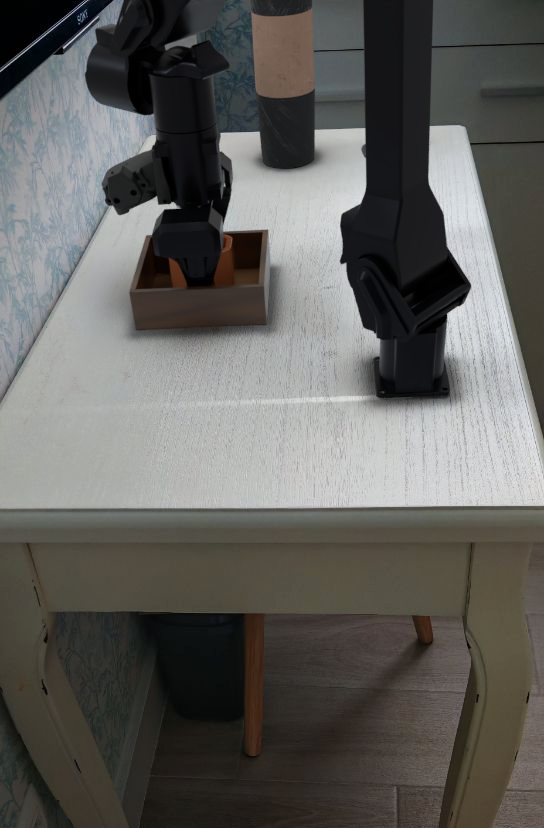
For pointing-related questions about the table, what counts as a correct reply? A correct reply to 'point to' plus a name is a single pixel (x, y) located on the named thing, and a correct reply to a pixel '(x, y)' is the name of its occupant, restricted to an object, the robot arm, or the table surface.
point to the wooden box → (204, 289)
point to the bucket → (223, 272)
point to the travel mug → (284, 80)
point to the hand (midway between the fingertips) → (204, 284)
